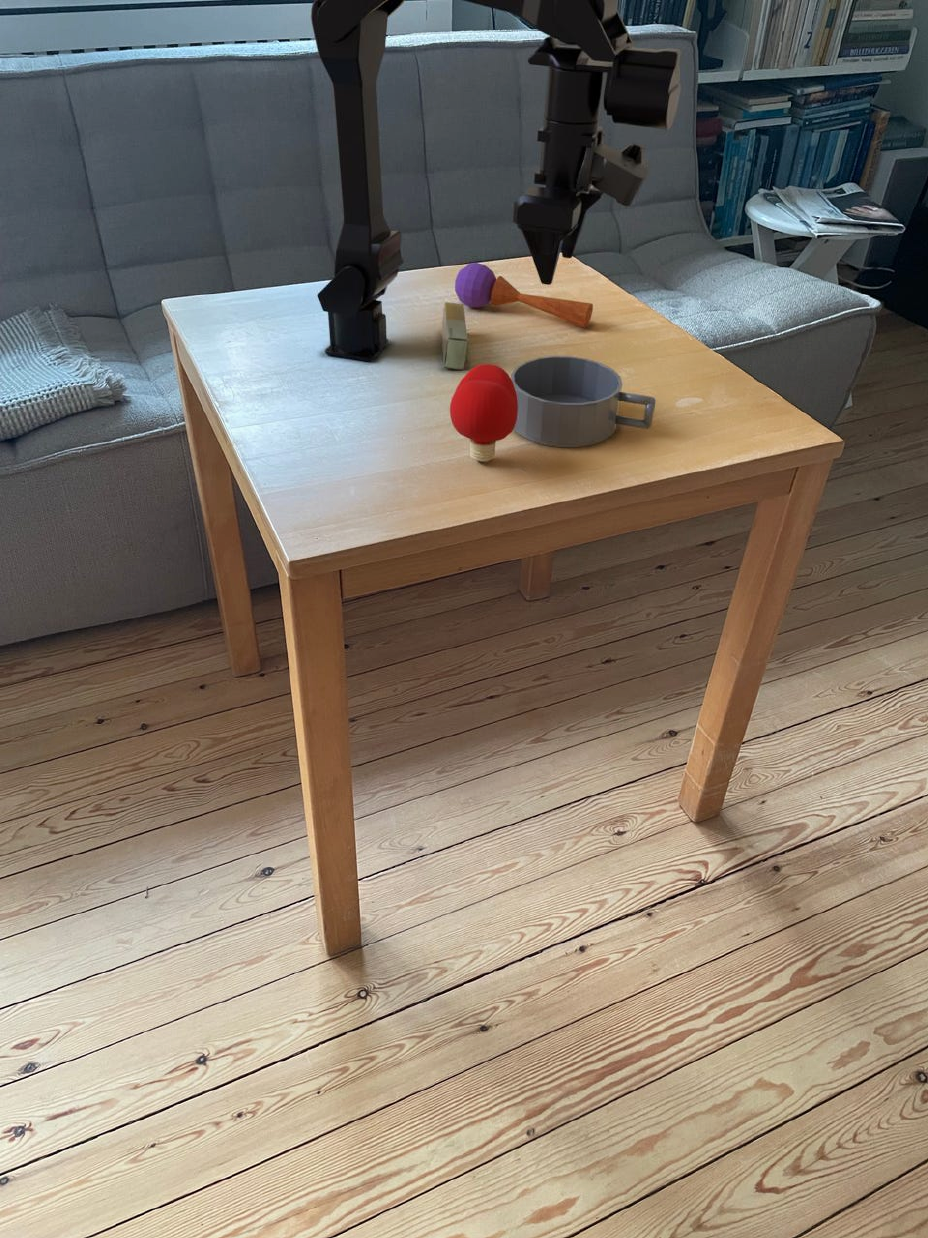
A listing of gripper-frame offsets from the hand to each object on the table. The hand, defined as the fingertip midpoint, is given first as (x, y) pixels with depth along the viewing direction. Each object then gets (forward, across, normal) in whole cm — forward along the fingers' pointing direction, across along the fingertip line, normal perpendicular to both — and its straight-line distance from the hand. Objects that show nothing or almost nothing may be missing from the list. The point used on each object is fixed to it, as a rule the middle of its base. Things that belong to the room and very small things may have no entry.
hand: (557, 270), depth 105 cm
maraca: (+14, +20, +9) cm, 27 cm away
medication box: (+14, +5, +14) cm, 21 cm away
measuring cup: (+14, -8, -6) cm, 17 cm away
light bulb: (+14, -20, +2) cm, 25 cm away
